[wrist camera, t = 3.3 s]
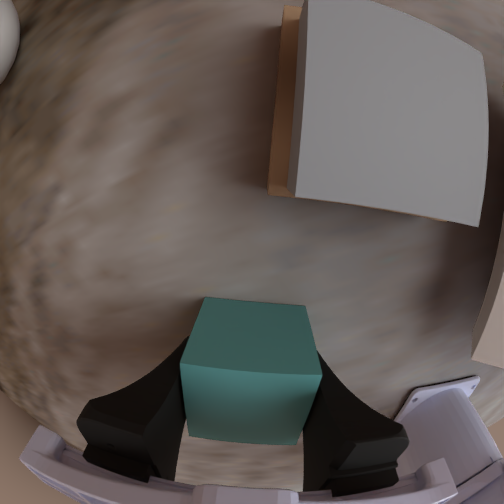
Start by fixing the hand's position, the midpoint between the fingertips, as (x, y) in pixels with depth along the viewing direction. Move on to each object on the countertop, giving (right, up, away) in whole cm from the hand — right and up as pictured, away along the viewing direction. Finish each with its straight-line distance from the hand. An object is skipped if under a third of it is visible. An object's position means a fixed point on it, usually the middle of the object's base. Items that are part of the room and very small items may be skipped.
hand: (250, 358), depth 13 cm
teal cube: (0, 0, +1) cm, 1 cm away
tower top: (+5, +11, -4) cm, 13 cm away
